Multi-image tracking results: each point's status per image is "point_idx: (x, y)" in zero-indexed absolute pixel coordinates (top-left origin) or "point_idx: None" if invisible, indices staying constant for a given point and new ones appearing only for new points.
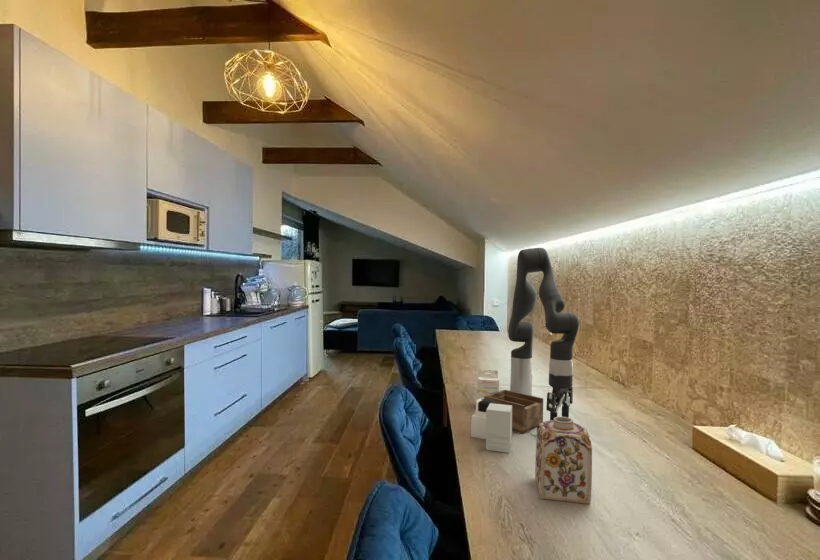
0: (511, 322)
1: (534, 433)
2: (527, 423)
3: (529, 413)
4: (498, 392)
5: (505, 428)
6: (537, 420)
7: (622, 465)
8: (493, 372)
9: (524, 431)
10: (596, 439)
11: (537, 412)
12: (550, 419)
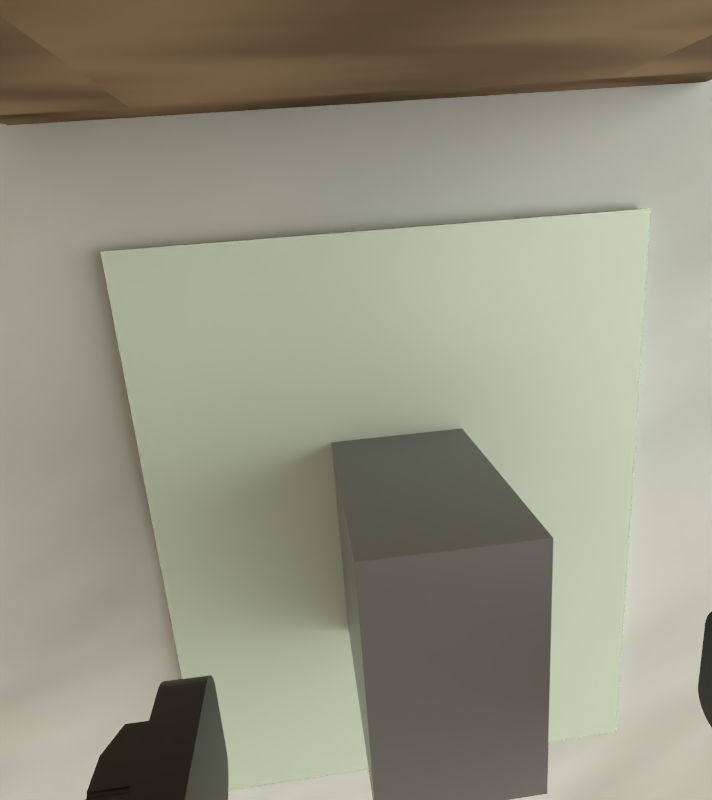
0: None
1: (156, 279)
2: (132, 82)
3: (173, 6)
4: None
5: None
6: (570, 63)
7: None
8: None
9: (59, 115)
10: (643, 785)
11: (660, 8)
12: (91, 783)
